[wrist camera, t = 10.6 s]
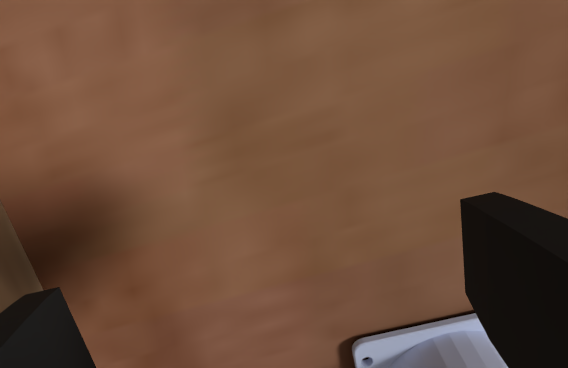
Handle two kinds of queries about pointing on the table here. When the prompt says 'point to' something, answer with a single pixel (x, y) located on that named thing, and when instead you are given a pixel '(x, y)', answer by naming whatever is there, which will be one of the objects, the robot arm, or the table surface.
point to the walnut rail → (14, 266)
